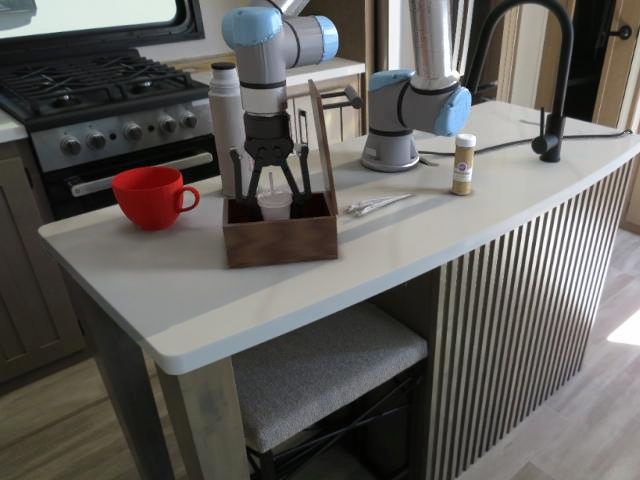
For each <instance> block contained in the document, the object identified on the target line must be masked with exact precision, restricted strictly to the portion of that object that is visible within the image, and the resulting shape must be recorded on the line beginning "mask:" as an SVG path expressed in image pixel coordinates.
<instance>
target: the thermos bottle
mask: <svg viewBox="0 0 640 480" xmlns="http://www.w3.org/2000/svg"><path fill="white" fill-rule="evenodd" d="M210 68H211V69H212V78H211V79H210V80H209V85H208V86H209V88H210V90H209V91H208V92H207V95H208V103H209V109H210V116H211V122H212V129H213V134H214V135H213V136H214V141H215V148H216V153H217V159H218V168H219V174H220V175H219V176H220V180H221V188H222V193H223V195H225V196H227V197H235V178H234V163H233V161H232V159H231V156H230V147H231V146H235V147H238V146H241V145H244V142H245V139H246V135H245V127H244V119H243V114H244V113H245V112H246V111H244V110H243V109H242V103H241V94H240V86H239V85H240V83H239V76H238V71H237V65H236V63H235V62H232V61H231V62H230V61H217V62H213V63H211V64H210ZM253 167H254V160H253V159H252V157H251V156H250V155H249V154H248V153H247V152H244V157H243V159H242V160H241V173H242V195H245V196H247V193H248V189H249V184H250V180H251V176H252V171H253ZM258 191H259V186H258V187H257V191H256V193H258Z"/></svg>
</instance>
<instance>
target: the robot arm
mask: <svg viewBox="0 0 640 480" xmlns="http://www.w3.org/2000/svg"><path fill="white" fill-rule="evenodd" d="M310 1H311V0H251V1H250V2H249V3H248V4H247V5H246V6H242V7H237V8H231V9H229V10H228V11H226V13H225V14H224V15H223V17H222V20H221V25H220V30H221V31H220V32H221V35H222V39H223V41H224V42H225V44H226V46H227V47H228V48H229V49H231V50H232V51H234V53H235V62H236V70H237V77H238V78H239V83H240V85H239V86H240V94H241V103H242V109H243V110H244V111H246V112H245V113H244V114H243V119H244V127H245V135H246V139H245V142H244V145H241V146H238V147H235V146H231V147H230V156H231V159H232V161H233V163H234V178H235V197H236V203H237V204H243V205H245V206H246V207H247V211H248V219H249V221H250V222H260V220H259V211H258V203H257V202H254V200H255V196H257V192H258V191H257V187H258V188H259V183H260V178H261V175H262V171H263V168H267V167H271V166H273V167H280V169H281V171H282V173H283V176H284V177H285V179H286V182H287V184H288V187H289V189H290V191H291V193H293V196H294V198H295V199H292V214H293V219H299V218H303V216H304V215H303V202H304V201H305V200H307V199H308V200H310V199H311V198H312V192H313V191H312V186H311V179H310V172H309V166H308V157H309V153H310V149H309V146H308V143H307V142H302V143H299V142H294V140H293V139H292V136H291V128H290V126H291V125H290V114H289V112H288V111H287V109H288V108H289V100H288V89H287V87H288V86H287V72H286V71H287V70H290V69H296V68H303V67H309V66H313V65H316V66H318V65H321V64H324V63H327V62H329V61H331V60H333V59H334V57H336V54H337V53H338V49H339V34H338V30H337V28H336V26H335V24H334V23H333V22H332V21H331V19H329V18H328V17H326V16H324V15H313V14H310V15H308V16H299V15H300V14H301V12H302V11H303V10H304V8H305V7H306V6H307V5H308V3H309V2H310ZM408 9H409V20H410V30H411V39H412V48H413V49H412V50H413V61H414V70H413V69H403V68H402V69H390V70H381V71H377V72H375V73H373V74H371V75H370V76H369V78H368V89H367V104H368V105H367V107H368V108H367V109H368V111H367V112H368V113H367V115H368V117H367V118H368V135H367V137H366V141H365V143H364V147H363V150H362V153H361V163H362V166H364V167H366V168H368V169H370V170H373V171H376V172H383V173H400V172H407V171H411V170H413V169H416V168H417V167H419V164H420V155H432V156H433V155H435V156H445V157H447V156H448V157H449V156H450V157H451V156H454V157H455V152H439V151H429V150H418V146H417V143H416V139H415V135H414V130H415V131H419V132H423V133H426V134H427V133H428V134H432V135H434V136H435V137H444V138H451V137H455V136H456V135H458V133H460V131H461V130H462V129H463V127H464V126H465V124H466V122H467V120H468V118H469V114H470V111H471V106H472V94H471V92H470V91H469V88H466V86H461V74H460V72H459V71H458V70H457V69H456V68H454V64H453V63H454V61H453V44H452V43H453V42H452V24H451V4H450V0H408ZM624 132H626V133H629V134H634V132H633V131H632V129H630V128H627V129H625V130H623V131H622V132H620V133H613V134H612V133H611V134H574V135H573V134H572V135H570V134H569V135H562V136H563V138H562V139H577V138H578V139H581V138H614V137H615V138H617V137H621V136H623V135H625V134H626V133H624ZM534 138H535V137H534ZM534 138H527V139H520V140H514V141H510V142H505V143H499V144H496V145H492V146H488V147H484V148H481V149H477V150H474V155H475V154H480V153H483V152H488V151H490V150H495V149H499V148H503V147H508V146H513V145H517V144H523V143H529V142H533V141H532V140H533V139H534ZM293 151H295V155H296V156H297V157H298V159H299V166H300V173H301V179H302V180H301V181H302V185H303V190H302V191H300V189H299V186H298V183H297V182H296V179H295V177H294V175H293V172H292V170H291V168H290V165H289V163H288V161H287V160H288V158H289V156H290V155H291V153H292V152H293ZM244 152H247V153H248V154H249V155H250V156H251V157H252V159H253V160H254V167H253V171H252V176H251V180H250V184H249V189H248V193H247V196H245V195H242V173H241V160H242V159H243V157H244ZM256 191H257V192H256Z"/></svg>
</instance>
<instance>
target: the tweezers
mask: <svg viewBox="0 0 640 480" xmlns="http://www.w3.org/2000/svg"><path fill="white" fill-rule="evenodd" d="M409 196H412V193H409V194H402V195H397V196H391V197H381V198H375V199H366V200H362V201H358V202H354V203H352V204H349V205H348V206H347V208H346V210H347V212H348V213H350V212H351V211H353V210H355V209H360V208H363V209H362V210H360V211H355V218H359V217H361V216H363V215H365V214H367V213H368V212H372V211H374V210H375V209H378V208H380V207H383V206H386V205H388V204H390V203H393V202H396V201H399V200H403V199H405V198H407V197H409Z"/></svg>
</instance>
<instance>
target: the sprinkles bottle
mask: <svg viewBox="0 0 640 480" xmlns="http://www.w3.org/2000/svg"><path fill="white" fill-rule="evenodd" d="M476 141H477V138H476V135H473V134H469V133H459V134H456V135H455V142H454V143H455V145H454V146H455V150H454V153H455V156H454V161H453V171H452V186H451V192H452V193H453V194H455V195H459V196H467V195H469V194H470V193H471V182H472V175H473V166H474V155H475V154H474V151H475V146H476Z"/></svg>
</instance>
